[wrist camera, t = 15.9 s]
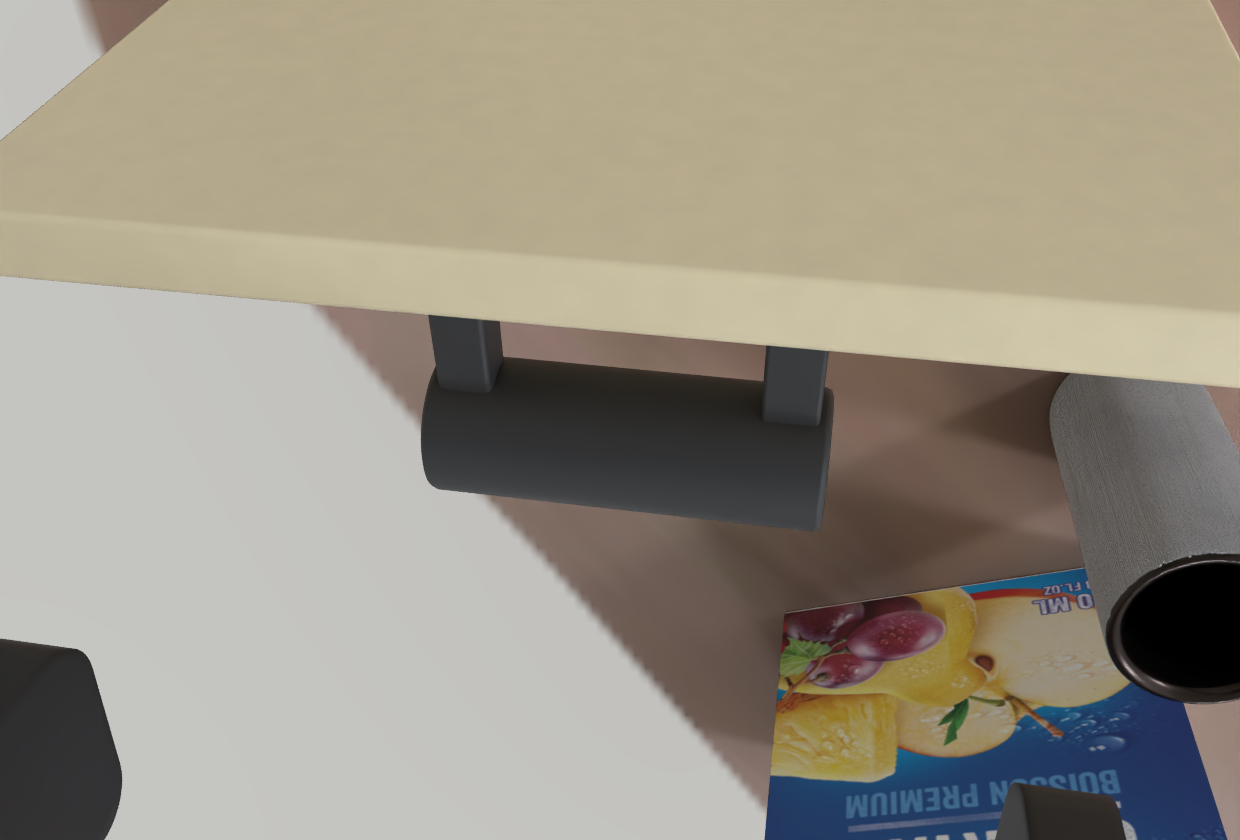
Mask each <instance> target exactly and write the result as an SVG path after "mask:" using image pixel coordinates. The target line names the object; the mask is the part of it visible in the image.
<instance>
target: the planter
mask: <svg viewBox="0 0 1240 840" xmlns="http://www.w3.org/2000/svg"><path fill="white" fill-rule="evenodd" d="M1049 420H1050V429H1051V436H1052V441H1053V445H1054V449H1055V453H1056V456H1057V460H1058V464H1059V468H1060V472H1061V476H1062V480H1063V484H1064V487H1065V491H1066V495H1067V499H1068V503H1069V507H1070V511H1071V514H1072V518H1073V522H1074V526H1075V530H1076V534H1077V538H1078V541H1079V545H1080V549H1081V553H1082V557H1083V561H1084V565H1085V569H1086V572H1087V576H1088V580H1089V584H1090V588H1091V592H1092V596H1093V599H1094V603H1095V607H1096V611H1097V615H1098V619H1099V623H1100V627H1101V630H1102V634H1103V638H1104V642H1105V645H1106V648H1107V651H1108V654H1109V656H1110V658H1111V660H1112V662H1113V664H1114V665H1115V666H1116V668H1117V669H1118V670H1119V671H1120V673H1121V674H1122V675H1123V676H1124V677H1125V678H1126V679H1128V680H1129V681H1130V682H1131V683H1133V684H1134V685H1136V686H1137V687H1139V688H1141V689H1142V690H1144V691H1146V692H1148V693H1150V694H1153V695H1155V696H1158V697H1161V698H1164V699H1167V700H1171V701H1176V702H1181V703H1189V704H1217V703H1225V702H1231V701H1235V700H1240V453H1239V451H1238V449H1237V447H1236V445H1235V444H1234V442H1233V440H1232V438H1231V436H1230V434H1229V432H1228V430H1227V428H1226V426H1225V424H1224V422H1223V420H1222V418H1221V416H1220V414H1219V412H1218V410H1217V408H1216V406H1215V404H1214V402H1213V400H1212V398H1211V396H1210V394H1209V392H1208V390H1207V389H1206V387H1205V385H1199V384H1188V383H1177V382H1166V381H1155V380H1144V379H1133V378H1122V377H1111V376H1100V375H1089V374H1078V373H1070V374H1069V375H1068V376H1067V377H1066V378H1065V380H1064V381H1063V382H1062V383H1061V385H1060V386H1059V388H1058V390H1057V391H1056V393H1055V395H1054V398H1053V400H1052V404H1051V407H1050V415H1049Z"/></svg>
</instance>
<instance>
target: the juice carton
mask: <svg viewBox="0 0 1240 840" xmlns="http://www.w3.org/2000/svg"><path fill="white" fill-rule="evenodd" d="M1014 782H1017V783H1024V784H1031V785H1038V786H1046V787H1053V788H1060V789H1067V790H1074V791H1082V792H1089V793H1096V794H1103V795H1110V796H1111V797H1112V798H1113V799H1114V800H1115V802H1116V804H1117V806H1118V809H1119V812H1120V815H1121V819H1122V823H1123V827H1124V832H1125V836H1126V840H1227V837H1226V834H1225V831H1224V828H1223V825H1222V822H1221V818H1220V815H1219V812H1218V809H1217V806H1216V803H1215V800H1214V797H1213V794H1212V791H1211V787H1210V784H1209V781H1208V778H1207V775H1206V772H1205V769H1204V766H1203V763H1202V760H1201V757H1200V753H1199V750H1198V747H1197V744H1196V741H1195V738H1194V735H1193V732H1192V729H1191V726H1190V722H1189V719H1188V716H1187V713H1186V710H1185V707H1184V704H1183V703H1181V702H1176V701H1171V700H1167V699H1164V698H1161V697H1158V696H1155V695H1153V694H1150V693H1148V692H1146V691H1144V690H1142V689H1141V688H1139V687H1137V686H1136V685H1134V684H1133V683H1131V682H1130V681H1129V680H1128V679H1126V678H1125V677H1124V676H1123V675H1122V674H1121V673H1120V671H1119V670H1118V669H1117V668H1116V666H1115V665H1114V664H1113V662H1112V660H1111V658H1110V656H1109V654H1108V651H1107V648H1106V645H1105V642H1104V638H1103V634H1102V630H1101V627H1100V623H1099V619H1098V615H1097V611H1096V607H1095V603H1094V599H1093V596H1092V592H1091V588H1090V584H1089V580H1088V576H1087V572H1086V569H1085V567H1084V568H1077V569H1071V570H1064V571H1057V572H1051V573H1044V574H1037V575H1031V576H1024V577H1017V578H1011V579H1004V580H998V581H991V582H984V583H978V584H971V585H964V586H958V587H951V588H944V589H938V590H931V591H925V592H918V593H911V594H905V595H898V596H891V597H885V598H878V599H872V600H865V601H858V602H852V603H845V604H838V605H832V606H825V607H818V608H812V609H805V610H799V611H792V612H786V613H785V615H784V626H783V638H782V649H781V660H780V672H779V683H778V694H777V705H776V717H775V728H774V739H773V751H772V762H771V773H770V784H769V796H768V807H767V818H766V830H765V840H995V837H996V833H997V830H998V826H999V822H1000V818H1001V814H1002V810H1003V806H1004V802H1005V799H1006V795H1007V792H1008V790H1009V787H1010V786H1011V784H1012V783H1014Z"/></svg>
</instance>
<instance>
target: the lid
mask: <svg viewBox="0 0 1240 840" xmlns="http://www.w3.org/2000/svg"><path fill="white" fill-rule="evenodd" d="M0 276H7V277H18V278H29V279H41V280H52V281H62V282H73V283H84V284H96V285H106V286H118V287H129V288H139V289H151V290H162V291H173V292H184V293H195V294H207V295H217V296H228V297H239V298H251V299H262V300H272V301H283V302H294V303H305V304H316V305H327V306H338V307H349V308H360V309H371V310H382V311H393V312H404V313H415V314H426V315H428V316H429V323H430V330H431V336H432V343H433V349H434V356H435V363H436V367H435V369H434V371H433V374H432V376H431V379H430V382H429V385H428V389H427V393H426V397H425V402H424V408H423V415H422V425H421V452H422V460H423V466H424V471H425V475H426V478H427V480H428V481H429V483H430V484H431V485H432V486H434V487H435V488H437V489H441V490H450V491H459V492H468V493H477V494H486V495H495V496H504V497H512V498H521V499H530V500H539V501H548V502H557V503H566V504H575V505H584V506H592V507H601V508H610V509H619V510H628V511H637V512H646V513H655V514H664V515H673V516H681V517H690V518H699V519H708V520H717V521H726V522H735V523H744V524H753V525H761V526H770V527H779V528H788V529H797V530H806V531H815V530H818V529H819V527H820V525H821V522H822V517H823V510H824V503H825V495H826V486H827V477H828V468H829V458H830V448H831V437H832V425H833V411H834V395H833V391H832V390H831V389H829V388H827V387H825V378H826V370H827V362H828V354H829V351H835V352H846V353H857V354H868V355H879V356H890V357H901V358H912V359H923V360H934V361H945V362H956V363H967V364H978V365H989V366H1000V367H1011V368H1022V369H1033V370H1045V371H1056V372H1067V373H1078V374H1089V375H1100V376H1111V377H1122V378H1133V379H1144V380H1155V381H1166V382H1177V383H1188V384H1199V385H1210V386H1221V387H1232V388H1240V58H1239V56H1238V54H1237V52H1236V50H1235V48H1234V46H1233V44H1232V42H1231V40H1230V38H1229V37H1228V35H1227V33H1226V31H1225V29H1224V27H1223V25H1222V23H1221V21H1220V19H1219V17H1218V15H1217V13H1216V11H1215V9H1214V8H1213V6H1212V4H1211V2H1210V0H169V1H167V2H166V3H165V4H164V5H163V6H161V7H160V8H159V9H158V10H157V11H155V12H154V13H153V14H152V15H151V16H149V17H148V18H147V19H146V20H145V21H143V22H142V23H141V24H140V25H139V26H137V27H136V28H135V29H134V30H133V31H131V32H130V33H129V34H128V35H127V36H125V37H124V38H123V39H122V40H121V41H119V42H118V43H117V44H116V45H115V46H113V47H112V48H111V49H110V50H109V51H107V52H106V53H105V54H104V55H103V56H101V57H100V58H99V59H98V60H97V61H95V62H94V63H93V64H92V65H91V66H89V67H88V68H87V69H86V70H85V71H83V72H82V73H81V74H80V75H79V76H77V77H76V78H75V79H74V80H73V81H72V82H70V83H69V84H68V85H67V86H65V87H64V88H63V89H62V90H61V91H59V92H58V93H57V94H56V95H55V96H54V97H52V98H51V99H50V100H49V101H47V102H46V103H45V104H44V105H42V106H41V107H40V108H39V109H38V110H37V111H35V112H34V113H33V114H32V115H30V116H29V117H28V118H27V119H26V120H24V121H23V122H22V123H21V124H20V125H19V126H17V127H16V128H15V129H14V130H12V131H11V132H10V133H9V134H8V135H6V136H5V137H4V138H3V139H2V140H0ZM499 321H504V322H515V323H526V324H537V325H548V326H559V327H570V328H581V329H592V330H603V331H614V332H625V333H636V334H647V335H658V336H669V337H680V338H691V339H702V340H713V341H724V342H735V343H747V344H758V345H766V358H765V370H764V381H753V380H743V379H732V378H722V377H711V376H701V375H690V374H680V373H669V372H659V371H648V370H638V369H627V368H617V367H606V366H596V365H585V364H575V363H564V362H554V361H543V360H532V359H522V358H511V357H503V351H502V341H501V332H500V322H499Z"/></svg>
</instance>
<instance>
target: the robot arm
mask: <svg viewBox="0 0 1240 840" xmlns="http://www.w3.org/2000/svg"><path fill="white" fill-rule="evenodd" d="M121 789H122V771H121V766H120V762H119V758H118V755H117V752H116V748H115V745H114V741H113V738H112V734H111V731H110V727H109V724H108V720H107V717H106V713H105V710H104V706H103V703H102V699H101V696H100V692H99V689H98V685H97V682H96V678H95V675H94V671H93V668H92V665H91V663H90V661H89V659H88V657H87V656H86V655H85V654H84V653H83V652H82V651H80V650H78V649H72V648H64V647H58V646H50V645H42V644H35V643H29V642H21V641H14V640H7V639H0V840H104V839H105V838H106V836H107V834H108V832H109V830H110V828H111V826H112V824H113V821H114V819H115V816H116V812H117V809H118V806H119V802H120V797H121ZM995 840H1126V836H1125V832H1124V827H1123V823H1122V819H1121V815H1120V812H1119V809H1118V806H1117V804H1116V802H1115V800H1114V799H1113V798H1112V797H1111V796H1110V795H1103V794H1096V793H1089V792H1082V791H1074V790H1067V789H1060V788H1053V787H1046V786H1038V785H1031V784H1024V783H1017V782H1014V783H1012V784H1011V786H1010V787H1009V790H1008V792H1007V795H1006V799H1005V802H1004V806H1003V810H1002V814H1001V818H1000V822H999V826H998V830H997V833H996V837H995Z"/></svg>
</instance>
